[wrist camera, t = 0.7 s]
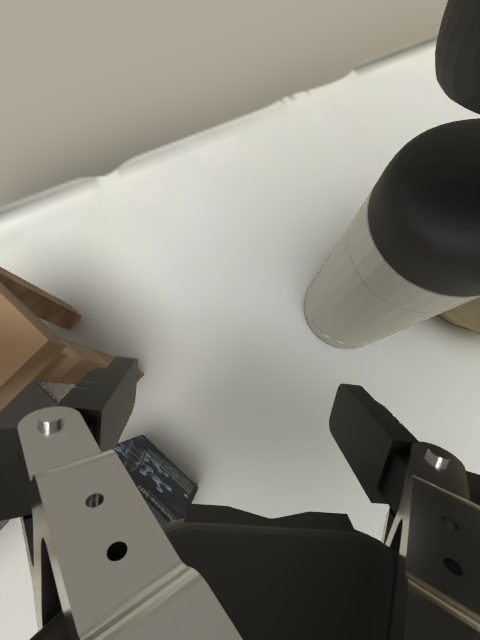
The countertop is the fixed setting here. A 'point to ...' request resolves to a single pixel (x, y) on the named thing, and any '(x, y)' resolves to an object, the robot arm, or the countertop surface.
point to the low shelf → (38, 340)
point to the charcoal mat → (24, 409)
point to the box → (156, 479)
